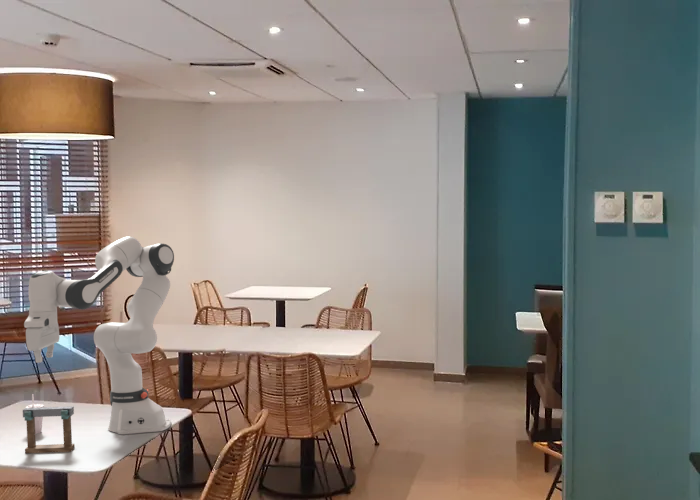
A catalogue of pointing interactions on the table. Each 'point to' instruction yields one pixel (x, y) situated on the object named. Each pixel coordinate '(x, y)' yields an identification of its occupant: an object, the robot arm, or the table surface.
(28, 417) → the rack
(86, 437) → the table surface
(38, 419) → the smoothie
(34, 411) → the rail
